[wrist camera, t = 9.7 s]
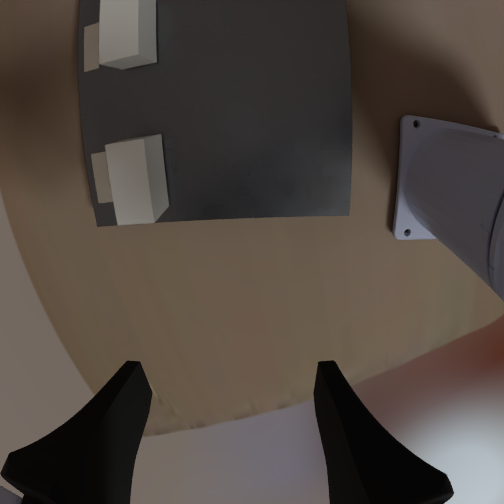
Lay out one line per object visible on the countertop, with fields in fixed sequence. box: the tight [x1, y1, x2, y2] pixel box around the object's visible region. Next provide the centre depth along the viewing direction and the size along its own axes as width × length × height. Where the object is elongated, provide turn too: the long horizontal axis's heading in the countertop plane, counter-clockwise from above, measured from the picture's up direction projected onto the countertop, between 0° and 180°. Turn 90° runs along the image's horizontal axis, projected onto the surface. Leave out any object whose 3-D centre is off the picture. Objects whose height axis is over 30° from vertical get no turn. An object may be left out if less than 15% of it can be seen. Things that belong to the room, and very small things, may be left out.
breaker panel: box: [78, 0, 352, 227], centre depth 13 cm, size 15×22×2 cm
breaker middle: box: [99, 0, 157, 70], centre depth 11 cm, size 2×4×3 cm, turn 3°
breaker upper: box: [105, 134, 169, 225], centre depth 14 cm, size 2×4×3 cm, turn 2°
